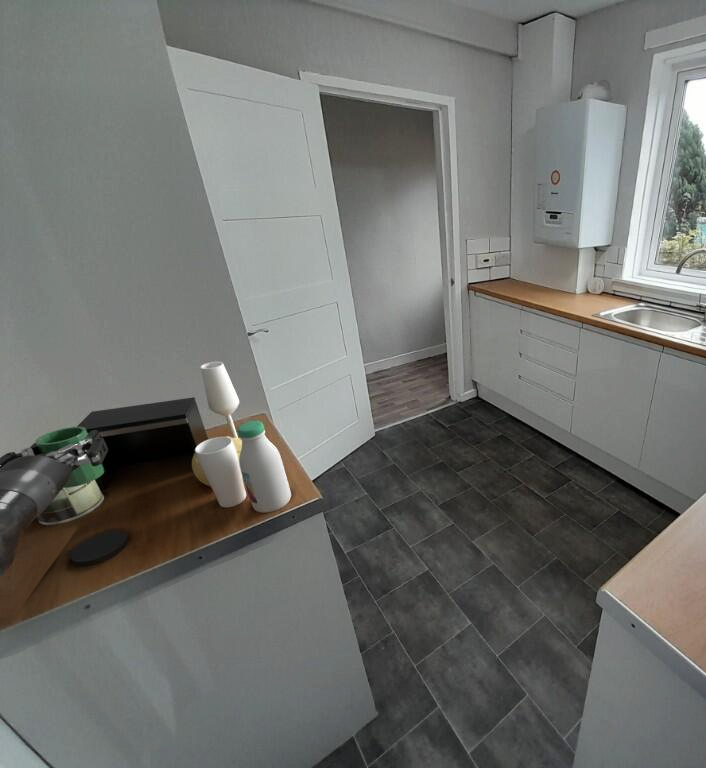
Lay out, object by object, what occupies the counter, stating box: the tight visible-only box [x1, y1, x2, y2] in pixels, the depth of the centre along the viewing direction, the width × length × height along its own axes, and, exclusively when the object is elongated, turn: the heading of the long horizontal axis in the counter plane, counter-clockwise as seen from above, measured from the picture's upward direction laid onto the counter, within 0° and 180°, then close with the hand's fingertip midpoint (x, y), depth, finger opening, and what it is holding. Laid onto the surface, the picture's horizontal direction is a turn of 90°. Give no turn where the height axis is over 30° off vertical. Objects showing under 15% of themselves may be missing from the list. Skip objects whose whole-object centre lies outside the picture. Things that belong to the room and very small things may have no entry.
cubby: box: [76, 396, 209, 492], centre depth 99 cm, size 20×10×16 cm, turn 115°
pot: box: [35, 426, 104, 488], centre depth 74 cm, size 6×6×9 cm
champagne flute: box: [199, 361, 240, 438], centre depth 107 cm, size 7×7×24 cm
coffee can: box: [36, 480, 105, 526], centre depth 86 cm, size 10×10×14 cm
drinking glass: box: [195, 436, 247, 508], centre depth 89 cm, size 7×7×15 cm
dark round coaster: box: [70, 529, 130, 567], centre depth 78 cm, size 8×8×1 cm
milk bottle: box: [236, 420, 292, 514], centre depth 88 cm, size 8×8×20 cm
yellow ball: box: [191, 435, 243, 487], centre depth 97 cm, size 11×12×11 cm
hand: (71, 438), depth 74 cm, fingers closed on pot, 6 cm apart
